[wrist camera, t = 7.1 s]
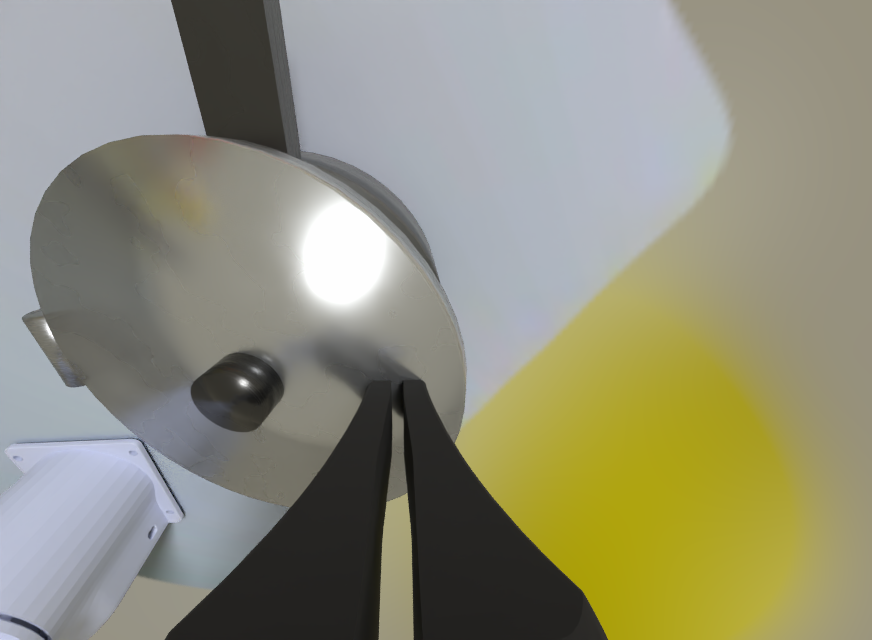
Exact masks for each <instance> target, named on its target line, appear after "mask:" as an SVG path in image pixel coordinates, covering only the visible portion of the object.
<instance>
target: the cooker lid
mask: <svg viewBox="0 0 872 640" xmlns="http://www.w3.org/2000/svg"><path fill="white" fill-rule="evenodd" d="M30 264H31V271H32V277H33V283H34V288H35V291H36V295H37V298H38V301H39V305H40V308H41V309H39V310H36V311H33V312H30V313H28V314H26V315H24V316H23V317H22V320H23V322H24V323H25V325H26V326H27V328H28V329H29V331H30V332H31V334H32V335H33V337H34V338H35V340H36V341H37V343H38V344H39V346H40V347H41V349H42V350H43V352H44V353H45V355H46V356H47V358H48V359H49V361H50V362H51V364H52V365H53V367H54V368H55V370H56V371H57V373H58V374H59V376H60V377H61V379H62V380H63V382H64V383H65V385H66V386H68V387H80V386H84V385H86V386H87V387H88V389H89V390H90V391H91V392H92V393H93V395H94V396H95V397H96V398H97V399H98V400H99V401H100V402H101V403H102V404H103V405H104V406H105V407H106V408H107V409H108V410H109V411H110V412H111V414H113V415H114V416H115V417H116V418H117V419H118V420H119V421H120V422H121V423H123V424H124V425H125V426H126V427H127V428H128V429H129V430H130V431H132V432H133V433H134V434H135V435H137V436H138V437H139V438H141V439H142V440H143V441H144V442H146V443H147V444H148V445H149V446H151V447H152V448H154V449H155V450H157V451H158V452H160V453H161V454H163V455H164V456H166V457H167V458H168V459H170V460H172V461H173V462H175V463H177V464H178V465H180V466H182V467H183V468H185V469H187V470H189V471H190V472H192V473H194V474H196V475H198V476H200V477H202V478H204V479H206V480H208V481H210V482H212V483H215V484H217V485H219V486H222V487H224V488H226V489H229V490H231V491H234V492H237V493H240V494H242V495H245V496H248V497H251V498H255V499H258V500H262V501H265V502H269V503H273V504H278V505H283V506H287V507H291V506H292V505H293V504H294V503H295V501H296V500H297V499H298V498H299V497H300V495H301V494H302V493H303V492H304V490H305V489H306V488H307V487H308V485H309V484H310V483H311V481H312V480H313V479H314V477H315V476H316V475H317V473H318V472H319V471H320V469H321V468H322V466H323V465H324V464H325V462H326V461H327V459H328V458H329V456H330V455H331V453H332V452H333V450H334V449H335V447H336V445H337V444H338V442H339V441H340V439H341V438H342V436H343V435H344V433H345V431H346V429H347V428H348V426H349V424H350V422H351V421H352V419H353V417H354V415H355V413H356V412H357V410H358V408H359V406H360V404H361V402H362V399H363V397H364V395H365V393H366V390H367V388H368V385H369V383H370V382H371V381H384V380H391V390H392V459H391V467H390V476H389V484H388V493H387V501H390V500H393V499H395V498H398V497H400V496H402V495H404V494H406V493H407V483H406V473H405V463H404V399H403V380H423V381H424V382H425V383H426V387H427V390H428V393H429V395H430V398H431V400H432V402H433V405H434V407H435V409H436V411H437V413H438V415H439V417H440V419H441V421H442V423H443V425H444V427H445V428H446V430H447V432H448V434H449V436H450V437H451V439H452V441H453V442H454V443H455V441H456V439H457V436H458V434H459V431H460V427H461V423H462V418H463V413H464V407H465V395H466V373H467V366H466V358H465V350H464V343H463V339H462V336H461V332H460V329H459V325H458V322H457V318H456V316H455V313H454V311H453V309H452V307H451V304H450V302H449V300H448V298H447V295H446V293H445V291H444V289H443V287H442V286H441V284H440V283H439V281H438V279H437V278H436V276H435V274H434V273H433V271H432V269H431V268H430V266H429V265H428V263H427V262H426V260H425V259H424V258H423V257H422V255H421V254H420V253H419V252H418V250H417V249H416V248H415V247H414V245H413V244H412V243H411V242H410V240H409V239H408V238H407V237H406V235H405V234H404V233H403V232H402V231H401V230H400V229H399V228H398V227H396V226H395V225H394V224H393V223H392V222H391V221H390V220H389V219H388V218H387V217H386V216H385V215H384V214H383V213H382V212H381V211H380V210H379V209H378V208H377V207H375V206H374V205H373V204H371V203H370V202H369V201H367V200H366V199H365V198H364V197H362V196H361V195H360V194H358V193H357V192H356V191H354V190H353V189H352V188H351V187H349V186H348V185H346V184H344V183H343V182H341V181H339V180H338V179H336V178H334V177H333V176H331V175H329V174H328V173H326V172H324V171H323V170H321V169H319V168H318V167H316V166H314V165H312V164H309V163H307V162H305V161H302V160H300V159H298V158H295V157H293V156H291V155H289V154H286V153H284V152H282V151H279V150H276V149H272V148H269V147H265V146H262V145H258V144H255V143H251V142H248V141H244V140H238V139H230V138H223V137H215V136H205V135H144V136H136V137H132V138H127V139H123V140H118V141H114V142H109V143H107V144H105V145H102V146H100V147H98V148H96V149H94V150H91V151H89V152H87V153H85V154H83V155H81V156H80V157H79V158H77V159H76V160H75V161H73V162H72V163H71V164H70V165H68V166H67V167H66V168H64V169H63V170H62V171H61V172H60V173H59V174H58V176H57V177H56V178H55V179H54V181H53V182H52V183H51V185H50V186H49V187H48V188H47V190H46V191H45V193H44V195H43V197H42V200H41V202H40V204H39V206H38V209H37V211H36V213H35V217H34V222H33V227H32V232H31V237H30ZM387 501H386V502H387Z"/></svg>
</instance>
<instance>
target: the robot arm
mask: <svg viewBox="0 0 872 640" xmlns="http://www.w3.org/2000/svg"><path fill="white" fill-rule="evenodd" d="M403 399H404V463H405V473H406V483H407V493H408V503H409V513H410V522H411V535H412V570H413V571H412V572H413V573H412V574H413V624H414V640H608V639H607V637H606V634H605V632H604V630H603V628H602V626H601V625H600V622H599V620H598V618H597V617H596V615H595V613H594V611H593V609H592V607H591V606H590V604H589V602H588V600H587V598H586V596H585V595H584V593H583V592H582V590H581V589H580V588H579V587H577V586H576V585H575V584H574V583H573V582H572V581H571V580H570V579H569V578H568V577H567V576H566V575H565V574H564V573H563V572H562V571H561V570H559V569H558V568H557V567H556V566H555V565H554V564H553V563H552V562H551V561H550V560H549V559H548V558H547V557H546V556H545V555H544V554H543V553H542V552H541V551H540V550H539V549H538V548H537V547H536V545H535V544H534V543H533V542H532V541H531V540H530V539H529V538H528V537H527V536H526V535H525V534H524V533H523V532H522V531H521V530H520V529H519V528H518V526H517V525H516V524H515V523H514V522H513V521H512V519H511V518H510V517H509V516H508V515H507V514H506V512H505V511H504V510H503V509H502V508H501V507H500V506H499V504H498V503H497V502H496V501H495V500H494V499H493V497H492V496H491V495H490V494H489V492H488V491H487V490H486V488H485V487H484V486H483V485H482V483H481V482H480V481H479V480H478V478H477V477H476V475H475V474H474V472H472V470H471V468H470V467H469V466H468V464H467V463H466V461H465V460H464V458H463V457H462V455H461V454H460V452H459V450H458V449H457V447H456V446H455V444H454V442H453V441H452V439H451V437H450V436H449V434H448V432H447V430H446V428H445V427H444V425H443V423H442V421H441V419H440V417H439V415H438V413H437V411H436V409H435V407H434V405H433V402H432V400H431V398H430V395H429V393H428V390H427V387H426V383H425V382H424V381H423V380H403ZM5 453H6V455H7V456H8V457H9V458H10V459H11V460H12V461H13V462H14V464H15V465H16V466H17V467H18V468H19V469H20V470H21V471H22V472H23V473H24V475H23V476H22V477H21V478H20V479H18V480H17V481H16V482H15V483H14V484H13V485H12V486H11V487H9V488H8V489H7V490H6V491H5V492H4V493H3V494H2V495H0V640H88V639H89V638H90V637H92V636H93V635H94V634H95V633H96V632H97V631H98V630H99V629H100V628H101V627H102V626H103V625H104V623H105V622H106V621H107V620H108V619H109V618H110V616H111V615H112V614H113V613H114V611H115V610H116V608H117V607H118V605H119V604H120V602H121V600H122V599H123V597H124V596H125V594H126V592H127V590H128V589H129V587H130V586H131V584H132V582H133V581H134V579H135V577H136V576H137V574H138V572H139V571H140V569H141V568H142V566H143V564H144V563H145V561H146V559H147V558H148V556H149V554H150V553H151V551H152V549H153V548H154V546H155V544H156V543H157V541H158V540H159V538H160V536H161V535H162V533H163V531H164V530H165V528H166V526H167V525H168V523H176V522H180V521H181V520H182V518H183V516H184V515H183V513H182V511H181V509H180V508H179V506H178V504H177V503H176V501H175V499H174V497H173V496H172V494H171V492H170V491H169V489H168V487H167V485H166V484H165V482H164V480H163V479H162V477H161V475H160V474H159V472H158V470H157V468H156V467H155V465H154V463H153V462H152V460H151V458H150V456H149V455H148V453H147V451H146V450H145V448H144V446H143V445H142V443H141V442H140V441H139V440H136V439H117V440H93V441H70V442H47V443H23V444H12V445H10V446H9V447H8V448H6V449H5ZM391 459H392V390H391V380H384V381H371V382H370V383H369V385H368V388H367V390H366V393H365V395H364V397H363V399H362V402H361V404H360V406H359V408H358V410H357V412H356V413H355V415H354V417H353V419H352V421H351V422H350V424H349V426H348V428H347V429H346V431H345V433H344V435H343V436H342V438H341V439H340V441H339V442H338V444H337V445H336V447H335V449H334V450H333V452H332V453H331V455H330V456H329V458H328V459H327V461H326V462H325V464H324V465H323V466H322V468H321V469H320V471H319V472H318V473H317V475H316V476H315V477H314V479H313V480H312V481H311V483H310V484H309V485H308V487H307V488H306V489H305V490H304V492H303V493H302V494H301V495H300V497H299V498H298V499H297V500H296V501H295V503H294V504H293V505H292V506H291V508H290V509H289V510H288V511H287V512H286V514H285V515H284V516H283V517H282V518H281V519H280V521H279V522H278V523H277V524H276V525H275V526H274V527H273V529H272V530H271V531H270V532H269V533H268V534H267V535H266V536H265V537H264V538H263V539H262V540H261V541H260V542H259V544H258V545H257V546H256V547H255V548H254V549H253V550H252V551H251V552H250V553H249V554H248V555H247V556H246V557H245V558H244V560H243V561H242V562H241V563H240V564H239V565H238V566H237V567H236V568H235V569H234V570H233V571H232V572H231V573H230V574H229V575H228V576H227V577H226V578H225V579H224V580H223V581H222V582H221V583H220V584H219V585H218V586H217V587H216V588H215V589H214V590H213V591H212V592H211V593H210V594H209V595H208V596H206V597H205V598H204V599H203V600H202V601H201V602H200V603H199V604H198V605H197V606H196V607H195V608H194V609H193V610H192V611H191V612H190V613H189V614H188V615H187V616H186V617H185V618H183V619H182V620H181V621H180V623H178V624H177V625H176V626H175V627H174V628H173V629H172V630H171V631H170V632H169V633H168V635H167V637H166V639H165V640H378V639H379V638H378V637H379V609H380V580H381V556H382V555H381V553H382V538H383V526H384V517H385V509H386V501H387V493H388V484H389V476H390V467H391Z"/></svg>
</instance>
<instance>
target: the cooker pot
mask: <svg viewBox="0 0 872 640" xmlns="http://www.w3.org/2000/svg"><path fill="white" fill-rule="evenodd" d="M171 2H172V5H173V9H174V13H175V17H176V21H177V25H178V28H179V32H180V36H181V40H182V44H183V47H184V51H185V55H186V59H187V63H188V66H189V70H190V74H191V78H192V82H193V85H194V89H195V93H196V97H197V101H198V104H199V108H200V112H201V116H202V120H203V123H204V127H205V131H206V135H207V136H215V137H223V138H230V139H238V140H244V141H248V142H251V143H255V144H258V145H262V146H265V147H269V148H272V149H276V150H279V151H282V152H284V153H286V154H289V155H291V156H293V157H295V158H298V159H300V160H302V161H305V162H307V163H309V164H312V165H314V166H316V167H318V168H319V169H321V170H323V171H324V172H326V173H328V174H329V175H331V176H333V177H334V178H336V179H338V180H339V181H341V182H343V183H344V184H346V185H348V186H349V187H351V188H352V189H353V190H354V191H356V192H357V193H358V194H360V195H361V196H362V197H364V198H365V199H366V200H367V201H369V202H370V203H371V204H373V205H374V206H375V207H377V208H378V209H379V210H380V211H381V212H382V213H383V214H384V215H385V216H386V217H387V218H388V219H389V220H390V221H391V222H392V223H393V224H394V225H395V226H396V227H398V228H399V229H400V230H401V231H402V232H403V233H404V234H405V235H406V237H407V238H408V239H409V240H410V242H411V243H412V244H413V245H414V247H415V248H416V249H417V250H418V252H419V253H420V254H421V255H422V257H423V258H424V259H425V260H426V262H427V263H428V265H429V266H430V268H431V269H432V271H433V273H434V274H435V276H436V278H437V279H438V281H439V277H438V274H437V270H436V266H435V263H434V259H433V256H432V253H431V250H430V246H429V244H428V242H427V239H426V237H425V235H424V233H423V231H422V229H421V227H420V226H419V224H418V223H417V221H416V219H415V218H414V216H413V215H412V213H411V212H410V211H409V210H408V209H407V207H406V206H405V205H404V204H403V203H402V201H401V200H400V199H399V198H398V197H397V196H395V195H394V194H393V193H392V192H391V191H390V190H389V189H388V188H387V187H386V186H384V185H383V184H382V183H380V182H379V181H377V180H376V179H375V178H373V177H372V176H371V175H369V174H367V173H365V172H363V171H362V170H360V169H358V168H356V167H354V166H352V165H350V164H347V163H345V162H342V161H340V160H337V159H335V158H332V157H328V156H324V155H320V154H316V153H311V152H302V151H300V144H299V137H298V130H297V123H296V116H295V109H294V102H293V95H292V88H291V81H290V74H289V67H288V60H287V53H286V46H285V39H284V32H283V25H282V17H281V10H280V3H279V0H171ZM439 283H440V281H439Z"/></svg>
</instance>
